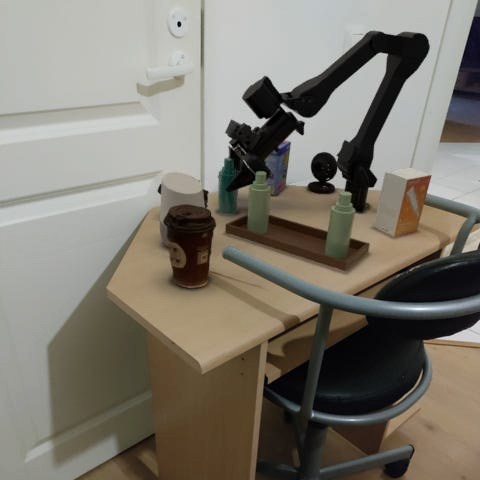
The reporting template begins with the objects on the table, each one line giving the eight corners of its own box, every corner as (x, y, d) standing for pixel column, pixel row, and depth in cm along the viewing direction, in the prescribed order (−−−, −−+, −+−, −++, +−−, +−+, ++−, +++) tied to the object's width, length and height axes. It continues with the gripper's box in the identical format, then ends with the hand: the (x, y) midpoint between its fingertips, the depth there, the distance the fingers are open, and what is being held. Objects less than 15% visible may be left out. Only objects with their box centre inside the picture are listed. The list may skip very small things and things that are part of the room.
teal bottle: (224, 207, 118) (225, 155, 111) (240, 211, 116) (242, 158, 110) (214, 213, 115) (214, 159, 108) (230, 217, 113) (232, 163, 106)
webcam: (301, 189, 133) (305, 151, 127) (316, 183, 138) (320, 147, 132) (325, 196, 129) (331, 157, 123) (340, 189, 133) (345, 152, 128)
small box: (394, 238, 106) (407, 179, 99) (372, 228, 111) (384, 171, 104) (418, 231, 110) (432, 174, 103) (396, 222, 115) (409, 166, 108)
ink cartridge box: (276, 196, 127) (281, 138, 119) (256, 192, 128) (259, 136, 121) (287, 185, 135) (292, 131, 127) (268, 182, 136) (272, 128, 128)
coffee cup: (173, 295, 82) (170, 222, 75) (160, 273, 88) (156, 204, 81) (221, 286, 85) (222, 216, 78) (205, 266, 91) (205, 199, 84)
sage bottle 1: (253, 224, 109) (256, 168, 102) (271, 228, 107) (276, 172, 100) (243, 230, 105) (245, 173, 98) (261, 235, 103) (265, 177, 97)
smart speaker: (189, 259, 93) (188, 188, 86) (151, 248, 97) (146, 178, 89) (215, 242, 101) (216, 175, 93) (178, 232, 104) (176, 167, 96)
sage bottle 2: (329, 247, 100) (338, 187, 93) (350, 252, 98) (361, 192, 91) (320, 255, 96) (329, 194, 89) (342, 261, 94) (353, 199, 88)
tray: (254, 219, 112) (254, 210, 111) (367, 253, 99) (370, 243, 98) (225, 234, 105) (225, 224, 103) (344, 273, 91) (346, 262, 90)
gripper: (239, 99, 111) (192, 149, 115) (259, 115, 96) (204, 172, 100) (269, 135, 117) (223, 181, 121) (293, 155, 102) (240, 207, 106)
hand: (222, 184), depth 112 cm, fingers open, 9 cm apart
